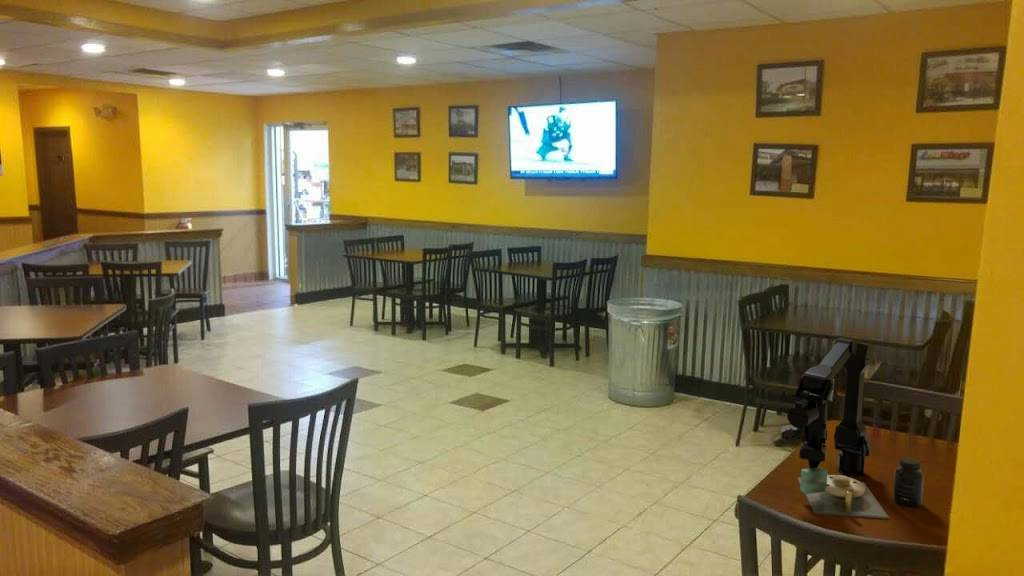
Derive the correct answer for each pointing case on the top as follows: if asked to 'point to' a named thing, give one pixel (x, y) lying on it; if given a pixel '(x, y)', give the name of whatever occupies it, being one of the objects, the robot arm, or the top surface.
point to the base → (846, 504)
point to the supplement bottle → (908, 483)
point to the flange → (829, 483)
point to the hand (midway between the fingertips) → (812, 472)
